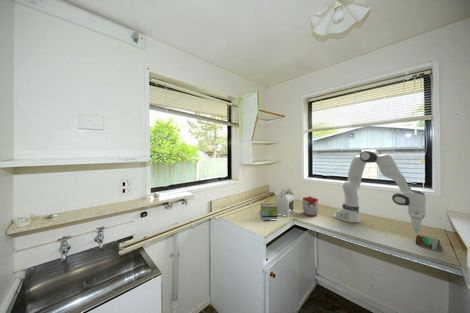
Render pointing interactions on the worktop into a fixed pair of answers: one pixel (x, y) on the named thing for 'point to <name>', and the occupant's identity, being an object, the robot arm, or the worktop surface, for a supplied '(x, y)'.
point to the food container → (427, 242)
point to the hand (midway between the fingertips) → (416, 231)
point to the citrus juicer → (310, 206)
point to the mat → (439, 248)
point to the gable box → (285, 202)
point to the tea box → (268, 211)
